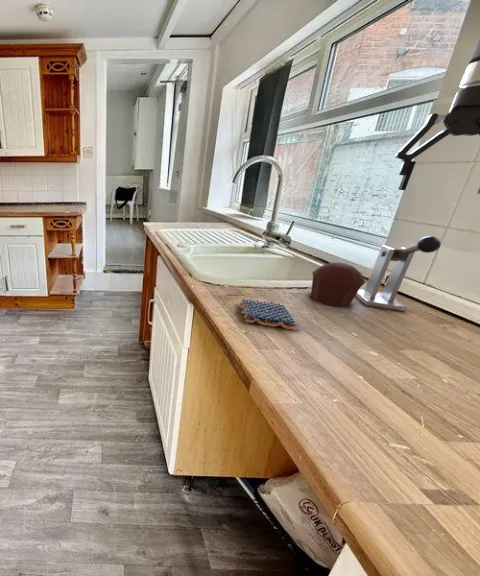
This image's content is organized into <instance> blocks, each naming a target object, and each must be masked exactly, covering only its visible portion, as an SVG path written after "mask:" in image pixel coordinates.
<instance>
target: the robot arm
mask: <svg viewBox="0 0 480 576" xmlns="http://www.w3.org/2000/svg"><path fill="white" fill-rule="evenodd" d="M459 88H461V89H459V90H458V91H457V92H456V94H455V96H454V99H453V100H452V103H451V106H450V108H449V111H448V113H447V114H438V113H437V112H436V113H432V114H430V115H428V116H427V118H426V120H425V121H424V123H423V125H422V126H421V128H420V129H418V131H416V133H415V134H414V135H413V136H412V137H411V138H410V139H409V140H408V141H407V142H406V143H405V144H404V145H403V146H402V147H401V148H400V149H399V150H398V151H397V153H396V154H394V158H395V159H397V160H400V161H402V163H401V166H400V169H399V171H398V176H402V178H401V181H400V184H399V186H398V188H397V189H398V191H406V189H407V186H408V184H409V180H410V179H411V176H412V174H413V171H414V168H415V165H416V163H417V161H416V160H413V159H415V158H416V157H418V156H420V155H422V154H423V153H424V152H425V151H427V150H428V149H430V148H431V147H433V146H434V145H436V144H437V143H438V142H441V140H443V139H445V138H446V137H448V136H449V135H450V136H452V137H459V136H466V137H472V136H476V135H478V136H479V137H480V34H479V35H478V38H477V41H476V43H475V46H474V49H473V51H472V54H471V57H470V60H469V61H468V64H467V66H466V69H465V71H464V74H463V76H462V78H461V81H460V83H459ZM440 122H442V124H443V125H444V127H445V128H444V129H442V130H441V131H439V132H437V133H436V134H435V135H434V136H432V137H431V138H429V139H428V140H426V141H425V142H424V143H423V144H421V145H419V146H418V147H417V148H416V149H414V150H412V151H411V152H410V153H408V152H409V151H410V150H411V149H412V148H413V147H414V146H415V145H416V144H417V143H418V142H420V140H421V139H422V138H423V137H424V136H425V135H426V134H427V133H428V132H429V131H430V130H431V129H432V128H433V126H437V125H438V124H439V123H440ZM407 153H408V154H407ZM476 194H480V187H479V188H478V191H477V192H476Z"/></svg>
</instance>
